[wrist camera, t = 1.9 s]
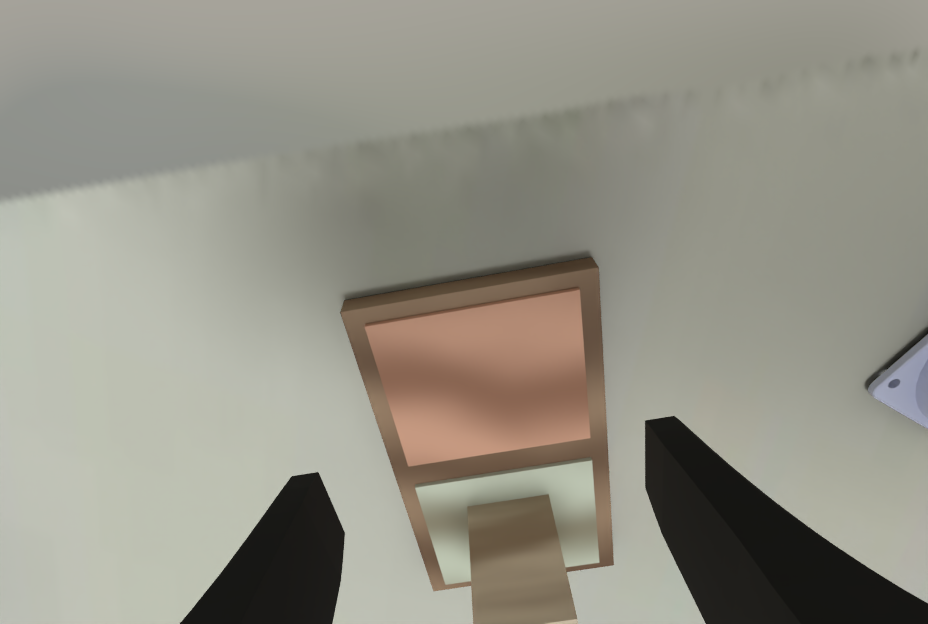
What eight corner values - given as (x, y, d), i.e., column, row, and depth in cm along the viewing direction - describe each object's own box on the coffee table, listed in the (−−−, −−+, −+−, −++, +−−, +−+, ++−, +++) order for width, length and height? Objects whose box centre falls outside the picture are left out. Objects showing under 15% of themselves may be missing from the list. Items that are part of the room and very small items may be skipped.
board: (344, 300, 21) (339, 314, 20) (591, 257, 20) (600, 269, 19) (433, 574, 29) (433, 594, 28) (608, 548, 29) (614, 568, 28)
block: (467, 506, 25) (473, 633, 20) (548, 494, 25) (577, 618, 20) (480, 558, 27) (489, 686, 22) (555, 547, 27) (583, 673, 22)
